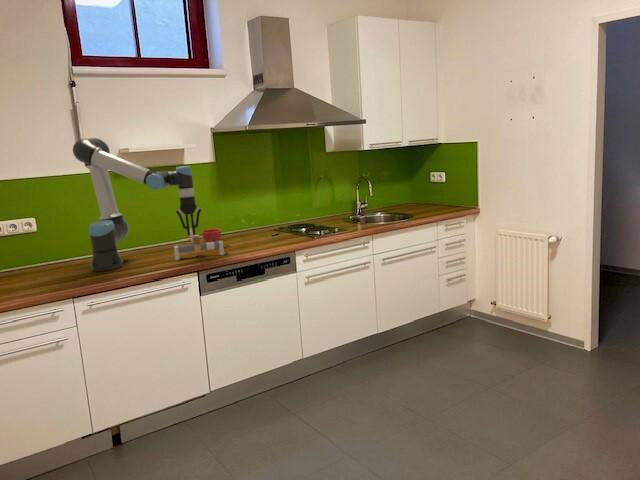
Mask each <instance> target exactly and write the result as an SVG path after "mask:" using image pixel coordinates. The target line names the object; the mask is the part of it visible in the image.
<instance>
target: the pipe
mask: <svg viewBox="0 0 640 480" xmlns="http://www.w3.org/2000/svg"><path fill="white" fill-rule="evenodd" d="M200 248H201V251H209V250H215V249H218V250H219V255H220V256H224V255H225V249H224V242H223V240H220V241H218V242H208V243H204V242H203V243H200ZM173 251H174V258H175V261H180V253H189V252H195V248H194V243H193V244H183V245H174V246H173Z"/></svg>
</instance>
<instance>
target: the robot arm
mask: <svg viewBox="0 0 640 480" xmlns="http://www.w3.org/2000/svg"><path fill="white" fill-rule="evenodd" d="M110 151H111V150H110V147H109V145H108V144H107V142H105V141H104V140H102V139H101V138H96V137H93V138H91V137H90V138H81V139H78V140H77V141H75V143H74V144H73V147H72V153H73V156H74V157H75V159H76V160H77V161H79V162H81V163H82V164H83V163H84V167H85V168H86V169H88V170H89V173H90V177H91V180H92V181H91V182H92V185H93V189H94V191H95V192H94V193H95V196H96V200H97V204H98V208H99V212H100V217H99V218H98V220H97V221H94V222H92V223H90V224H89V226H88V233H89V237H90V244H91V250H92V257H91V263H90V268H91V271H93V272H106V271H113V270H115V269H119V268H121V267H123V266H124V261H123V259H122V257H121V255H120V253H119V252H118V251H119V250H118V244H117V242H121V241H122V240H124V239H125V238H126V237H127V236H128V235H129V232H130V226H129V223H128V222H127V220H125V219H124V216H123V213H121V212H119V208H118V205H117V202H116V198H115V193H114V189H113V185H112V181H111V177H110V173H109V171H110V172H113V173H115V174H118V175H120V176H122V177H125V178H128V179H131V180H133V181H134V182H135V181H136V182H138V183H141V184H143V185H145V186H147V187H148V188H149V189H151V190H155V191H157V190H160V189H162V188H166V187H172V186H173V187H175V186H177V187H178V188H177V189H178V194H179V196H178V197H179V203H180V206H179V209H177V210H176V211H175V213H176V214H177V215H178V217H179V221H180V223H181V225H182V228H183V230H187V232H186V233H187V236H189V237H190V242H193V243H194V239H193V235H196V228H198V226H199V221H200V213H201V211H202V209H201V208H200V207H197V205H196V199H195V198H196V196H194V195H195V188H194V180H193V173H192V168H191V166H189V165H183V166H176V167H175V170H168V171H165V170H164V171H154V170H151V169H149V168H146V167H144V166H141V165H138V164H136V163H133V162H131V161H129V160H126V159H123V158H120V156H119V157H118V156H116V155H114V154H111V152H110ZM195 211H196V219H195V221H194V213H195ZM182 213H183V214H184V215H185V222H184V218H183V216H182ZM189 215H190V220H191V221H190V222H191V228H190V224H189V223H190V222H189ZM185 223H186V224H185Z"/></svg>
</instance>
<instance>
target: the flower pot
mask: <svg viewBox="0 0 640 480" xmlns="http://www.w3.org/2000/svg"><path fill="white" fill-rule="evenodd" d="M221 233H222V229H219V228H211V229H204V230H202V231H201V236H202V238H203V243H208V242H218V241H221V236H222V235H221Z"/></svg>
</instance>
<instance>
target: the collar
mask: <svg viewBox="0 0 640 480" xmlns="http://www.w3.org/2000/svg"><path fill="white" fill-rule="evenodd" d="M193 239H194V241H193V244H194V248H195V251H194V255H195V256H202V250H201V248H200V244H201V241H200V240H201V239H200V234H195V235H193Z"/></svg>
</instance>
